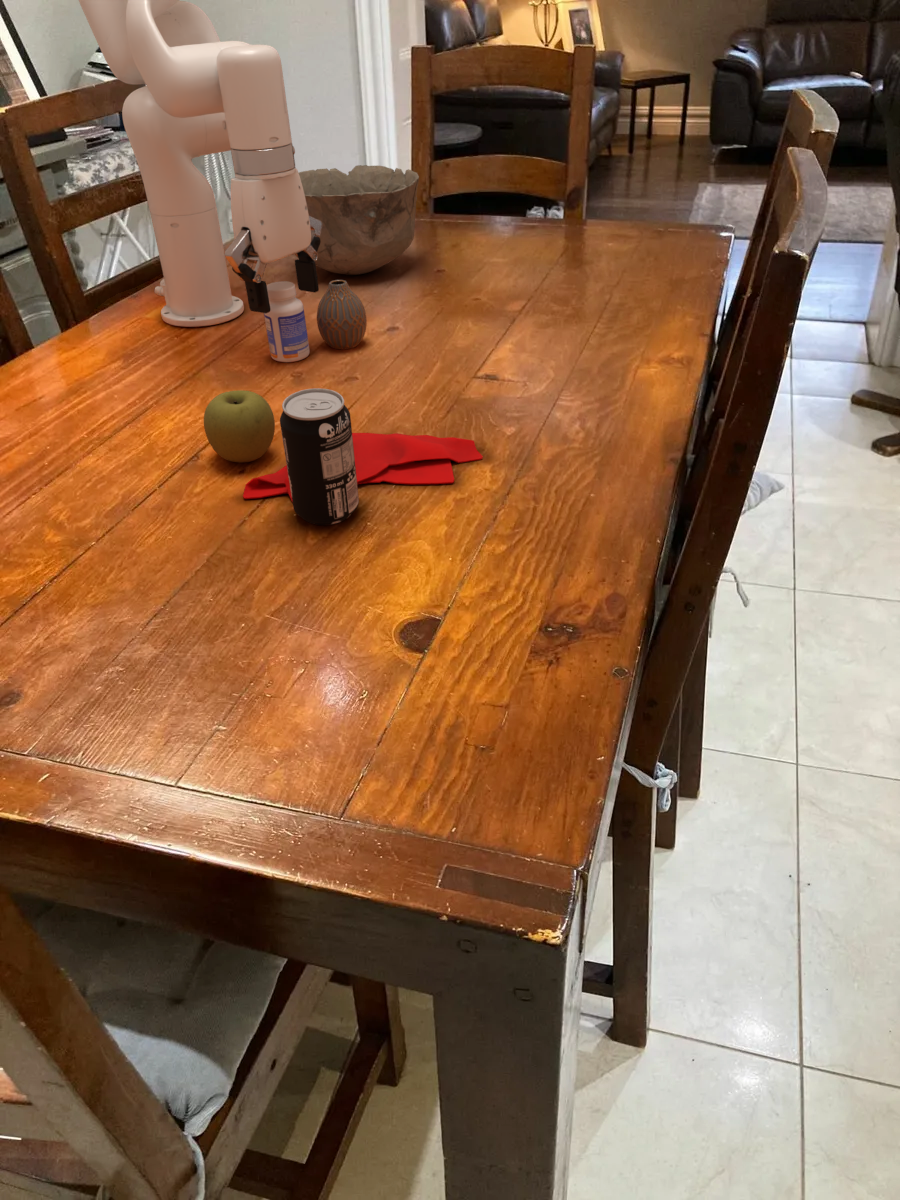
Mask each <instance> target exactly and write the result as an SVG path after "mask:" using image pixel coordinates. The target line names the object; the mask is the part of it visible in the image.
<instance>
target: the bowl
mask: <svg viewBox="0 0 900 1200" xmlns="http://www.w3.org/2000/svg"><path fill="white" fill-rule="evenodd" d="M347 172H348V173H345V172H342V171H341V170H339V169H338V168H336V167H333V168H330V169H328V168H317V169H310V170H303V171H298V173H299V176H300V179H301V183H302V186H303V190H304V194H305V199H306V204H307V209H308V214H309V216H311V217H313V218H315V219H318V220H320V221H321V222H322V229H321V235H320V237H319V238H320V241H321V242H320V245H319V248H318V250H317V253H318V259H317V260H316V261H314V262H315V264H316V267H318V268H320V269H322V270H324V271H327V272H329V273H333V274H339V275H347V276H357V275H358V276H359V275H365V274H367V273H368V274H369V273H371V272H373V271H375V270H377V269H380V268H381V267H383V266H385V265H388V264H389V263H391V262H392V261H394V260H395V259H397V258H398V257H400V256H402V255H403V254H404V253H405V252H406V250H407V249H408V248H409V247H410V246H411V245H412V243H413V240H414V239H415V230H416V229H415V228H416V214H417V200H418V196H417V195H418V194H417V193H418V187H419V182H420V176H419V174H418V172H417V171H414V170H412V169H409V168H408V169H406V170H405V172H403V170H402V169H401V168H398V167H395V169H393V168H391V167H387V166H386V165H385V166H384V165H368V164H363V165H362V164H358V165H355V166H354V167H353V168H352V169H351V170H350V171H347Z"/></svg>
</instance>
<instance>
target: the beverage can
mask: <svg viewBox="0 0 900 1200" xmlns="http://www.w3.org/2000/svg"><path fill="white" fill-rule="evenodd" d="M281 408H282V412H281V415H280V417H279V425H280V431H281V432H280V433H281V437H282V444H283V450H284V456H285V463H286V464H285V465H287V470H288V477H289V483H290V489H291V496H292V501H291V503H292V502H293V503H292V508H293V510H294V512H295V514H296V515H297V516H298V517H300V518H301V519H302V520H304V521H305V522H307V523H309V524H312V525H317V526H329V525H335V524H338V523H341V522H343V521H345V520H347V519H349V518H350V517H351V516H352V515H353V513H354V512H355V511H356V509H357V508H358V507H359V503H360V497H359V489H358V484H357V477H356V467H355V457H354V447H353V438H352V433H353V430H352V429H353V428H352V420H351V413H350V410H349V409H348V407H347V406H346V405H345V399H344V397H343V396H342V394H341V393H339V392H338V391H336V390H332V389H328V388H319V387H317V388H306V389H302V390H298V391H296V392H293V393H291V394H289V395H288V396H287V397H286V398H284V400H283V402H282V405H281Z"/></svg>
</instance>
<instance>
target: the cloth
mask: <svg viewBox="0 0 900 1200" xmlns="http://www.w3.org/2000/svg"><path fill="white" fill-rule="evenodd" d="M352 438H353V447H354V457H355V467H356V477H357V485H363V484H376V483H379V484H380V483H381V482H386V483H390V484H396V485H440V484H441V485H444V484H454V482H455V477H454V471H453V466H452V463H451V461H453V462H456V463H458V464H462V463H466V462H467V463H468V462H473V461H474V462H475V461H481V460H483V457H484V456H483V455H482V454H481V453H480V451H478V449H477V446H476V443H475V440H473V439H468V438H467V439H466V438H460V437H454V436H451V437H450V436H449V437H448V436H447V437H438V436H433V435H429V434H420V435H419V434H417V435H415V434H414V435H412V434H411V435H410V434H404V433H398V432H394V433H388V434H386V433H375V432H352ZM242 493H243V494H242V498H243V499H244V500H250V499H263V498H267V497H268V498H269V497H272V496H273V497H274V496H279V495H285V494H288V496H289V499H290V501H291V503H292V504H293V502H292V496H291V489H290V483H289V477H288V470H287V464H285V465H284V466H283V467H281V468H280V469H279V470H277V471H276V472H273V473H267V474H263V475H261V476H257V477H253V478H251V479H250V480H249V481H248V482H247V483H246V484H245V485H244V490H243V492H242Z"/></svg>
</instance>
